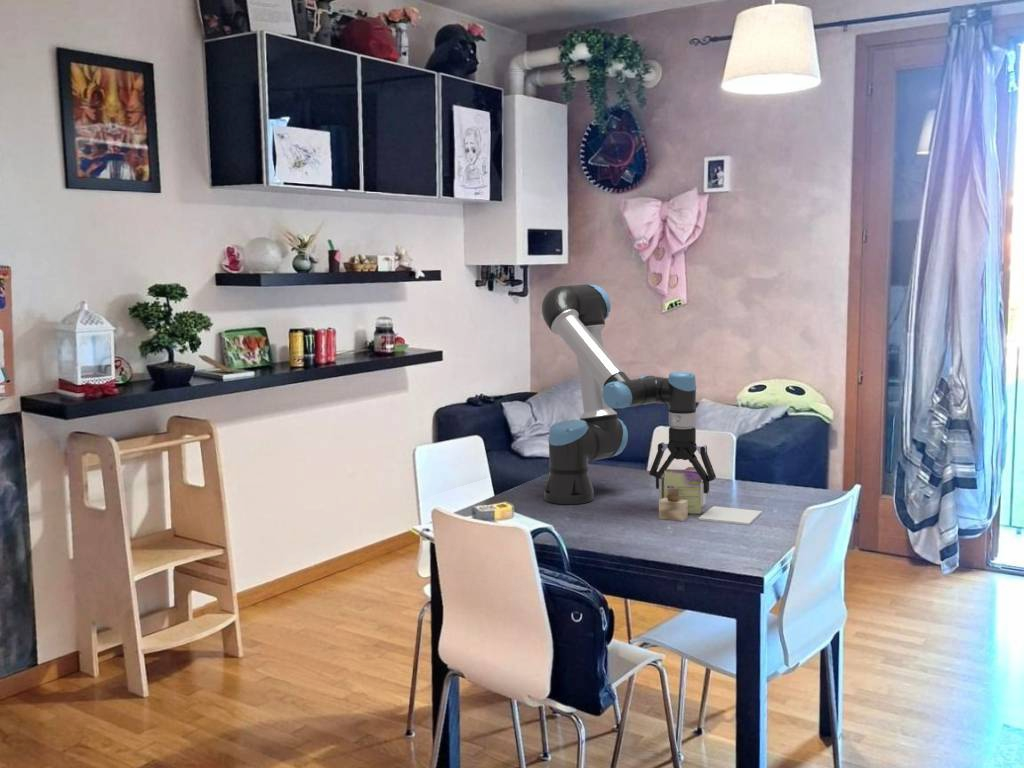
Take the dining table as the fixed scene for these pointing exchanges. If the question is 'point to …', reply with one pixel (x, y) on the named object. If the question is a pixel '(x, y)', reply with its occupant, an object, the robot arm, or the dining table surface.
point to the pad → (730, 515)
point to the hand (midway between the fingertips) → (682, 502)
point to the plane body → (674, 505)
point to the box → (684, 487)
